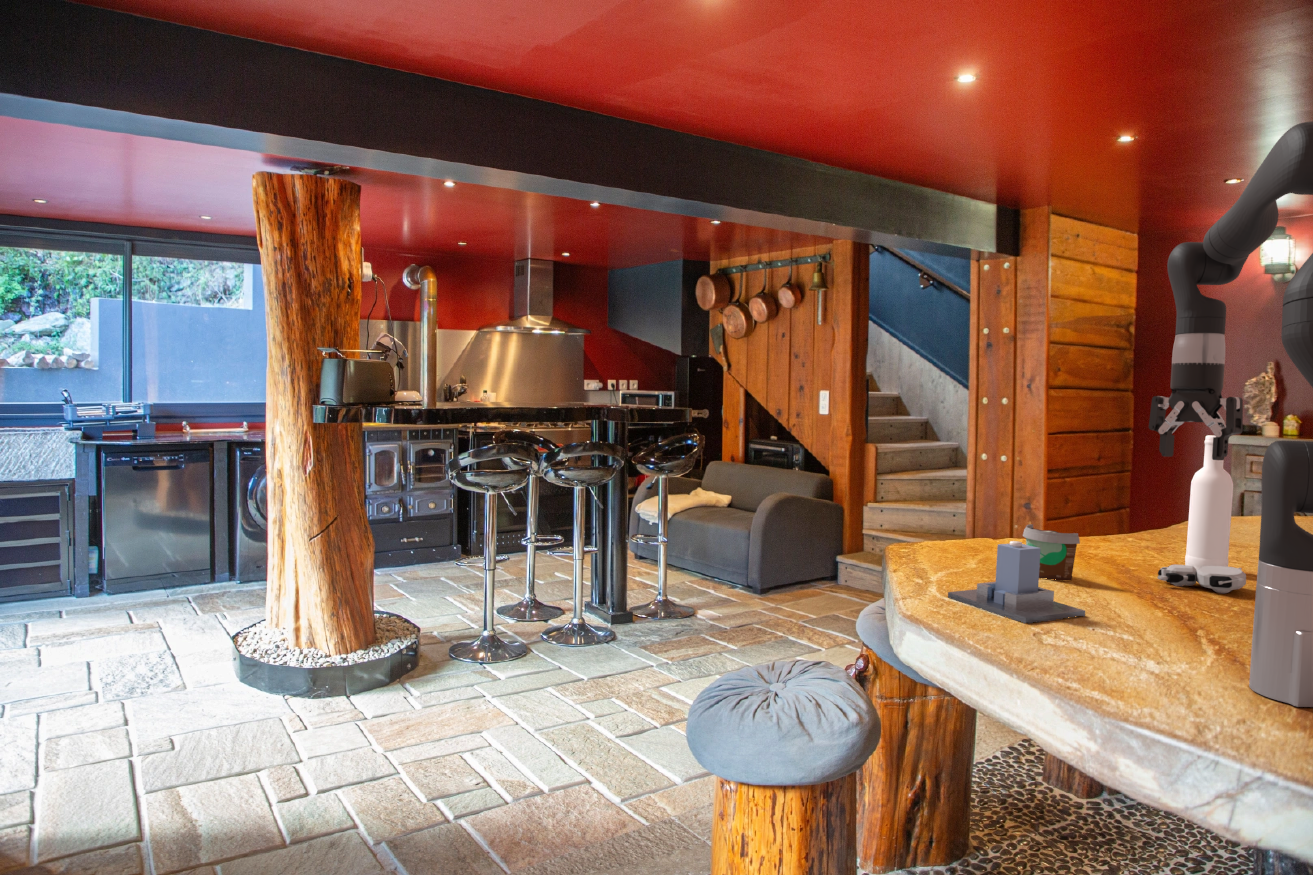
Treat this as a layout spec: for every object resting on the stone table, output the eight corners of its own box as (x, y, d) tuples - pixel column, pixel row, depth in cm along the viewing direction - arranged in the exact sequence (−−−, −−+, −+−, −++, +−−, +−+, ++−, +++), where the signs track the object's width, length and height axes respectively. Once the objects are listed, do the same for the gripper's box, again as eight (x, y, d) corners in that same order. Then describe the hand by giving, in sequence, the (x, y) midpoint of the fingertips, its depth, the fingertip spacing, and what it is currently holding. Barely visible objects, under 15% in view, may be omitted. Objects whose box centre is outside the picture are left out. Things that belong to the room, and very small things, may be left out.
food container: (1007, 571, 182) (1010, 525, 181) (1028, 569, 185) (1030, 523, 184) (1056, 584, 171) (1059, 535, 170) (1077, 582, 174) (1080, 533, 173)
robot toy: (1156, 592, 171) (1247, 599, 162) (1156, 570, 171) (1246, 575, 162) (1159, 581, 181) (1245, 586, 173) (1159, 560, 181) (1244, 564, 173)
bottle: (1176, 567, 190) (1185, 434, 188) (1202, 566, 193) (1212, 434, 191) (1208, 575, 183) (1218, 436, 181) (1236, 574, 185) (1246, 437, 183)
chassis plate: (1084, 616, 147) (1086, 596, 147) (1025, 623, 142) (1026, 603, 141) (1003, 591, 164) (1004, 573, 163) (947, 597, 158) (948, 578, 158)
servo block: (1037, 603, 151) (1040, 543, 150) (1009, 606, 148) (1012, 545, 148) (1014, 596, 156) (1018, 538, 155) (987, 599, 153) (990, 540, 152)
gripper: (1256, 362, 138) (1249, 461, 139) (1170, 364, 151) (1164, 455, 152) (1228, 359, 135) (1222, 461, 135) (1143, 362, 147) (1137, 455, 148)
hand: (1191, 458), depth 143 cm, fingers open, 8 cm apart
